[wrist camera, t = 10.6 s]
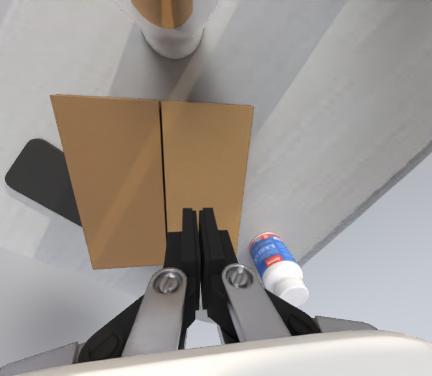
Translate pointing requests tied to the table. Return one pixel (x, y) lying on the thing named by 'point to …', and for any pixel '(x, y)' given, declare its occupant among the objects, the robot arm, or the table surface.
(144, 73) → the table surface
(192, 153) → the flap
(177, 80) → the table surface
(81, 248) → the table surface
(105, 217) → the carton
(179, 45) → the beer glass
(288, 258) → the pill bottle
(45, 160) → the phone
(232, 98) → the table surface
